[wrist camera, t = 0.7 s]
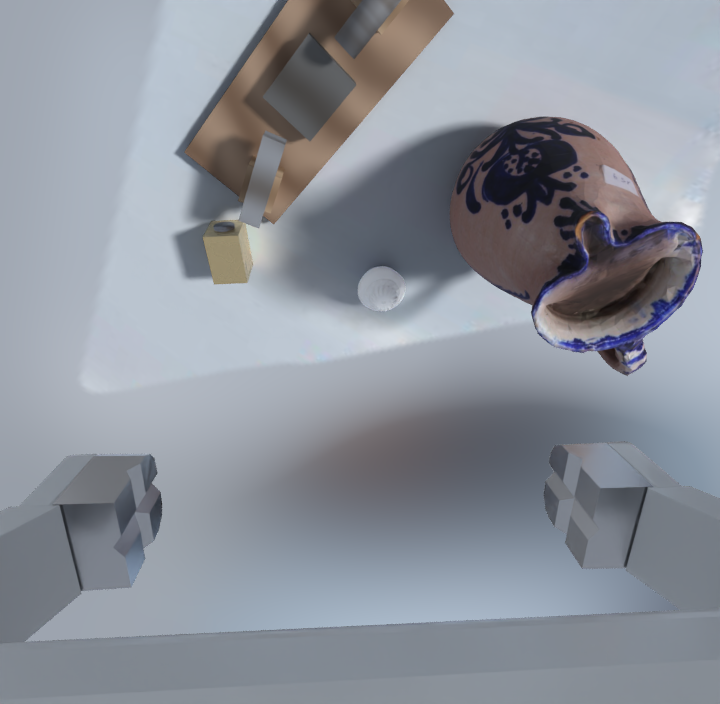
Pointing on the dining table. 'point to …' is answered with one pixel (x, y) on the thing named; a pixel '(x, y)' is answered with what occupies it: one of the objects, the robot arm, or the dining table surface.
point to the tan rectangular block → (228, 251)
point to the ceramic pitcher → (572, 238)
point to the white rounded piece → (381, 289)
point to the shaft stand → (308, 94)
